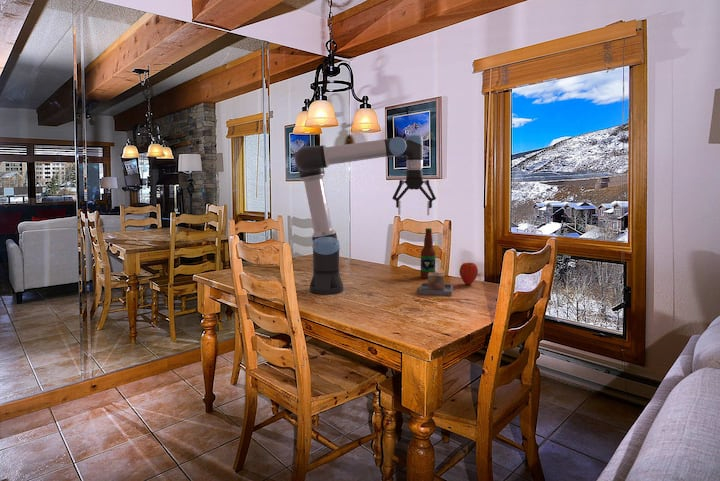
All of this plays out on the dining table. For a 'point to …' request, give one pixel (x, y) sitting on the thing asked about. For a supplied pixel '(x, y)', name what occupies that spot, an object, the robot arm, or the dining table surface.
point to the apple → (468, 272)
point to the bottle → (427, 255)
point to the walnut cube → (436, 281)
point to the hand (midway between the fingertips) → (413, 215)
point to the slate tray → (424, 290)
